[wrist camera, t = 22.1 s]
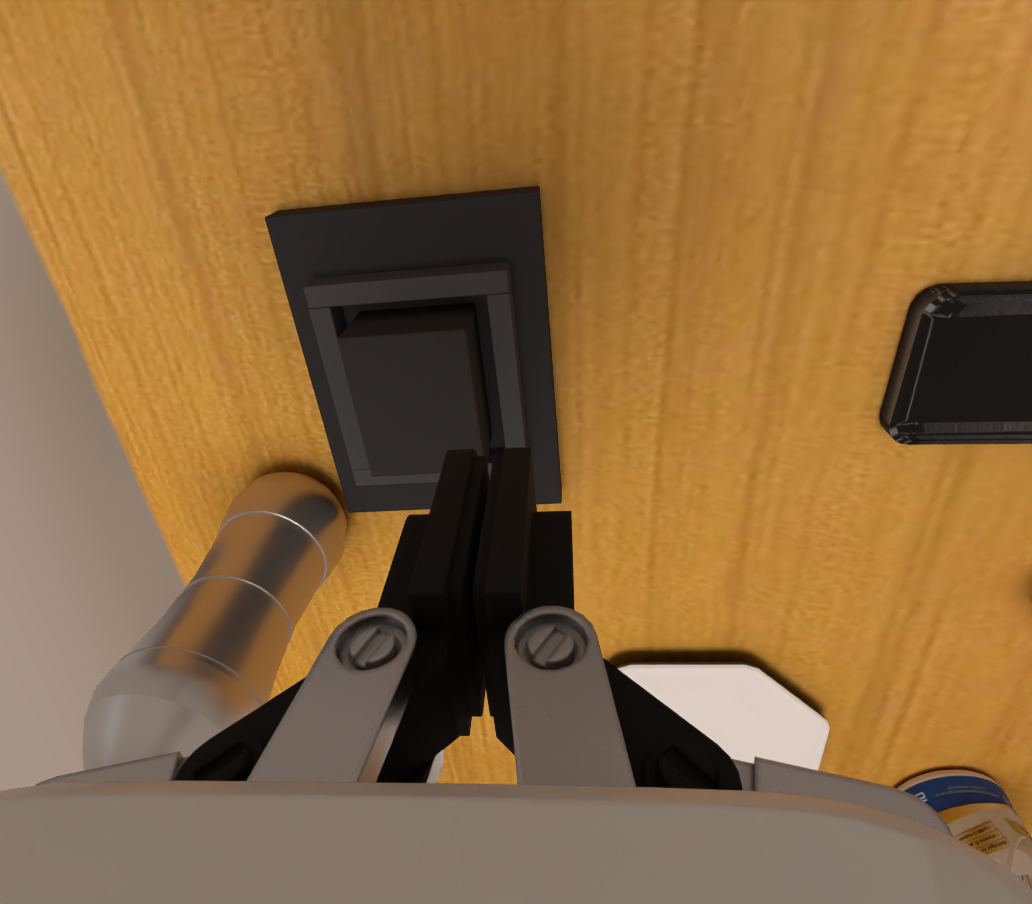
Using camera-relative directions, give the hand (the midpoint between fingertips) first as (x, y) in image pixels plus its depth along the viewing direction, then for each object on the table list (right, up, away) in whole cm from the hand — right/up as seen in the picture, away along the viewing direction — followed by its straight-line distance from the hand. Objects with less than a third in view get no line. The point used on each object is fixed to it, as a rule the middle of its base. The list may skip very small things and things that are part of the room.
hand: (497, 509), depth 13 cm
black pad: (-4, +5, +18) cm, 19 cm away
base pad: (-4, +6, +20) cm, 21 cm away
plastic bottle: (-12, -2, +25) cm, 28 cm away
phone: (+26, +6, +18) cm, 32 cm away
